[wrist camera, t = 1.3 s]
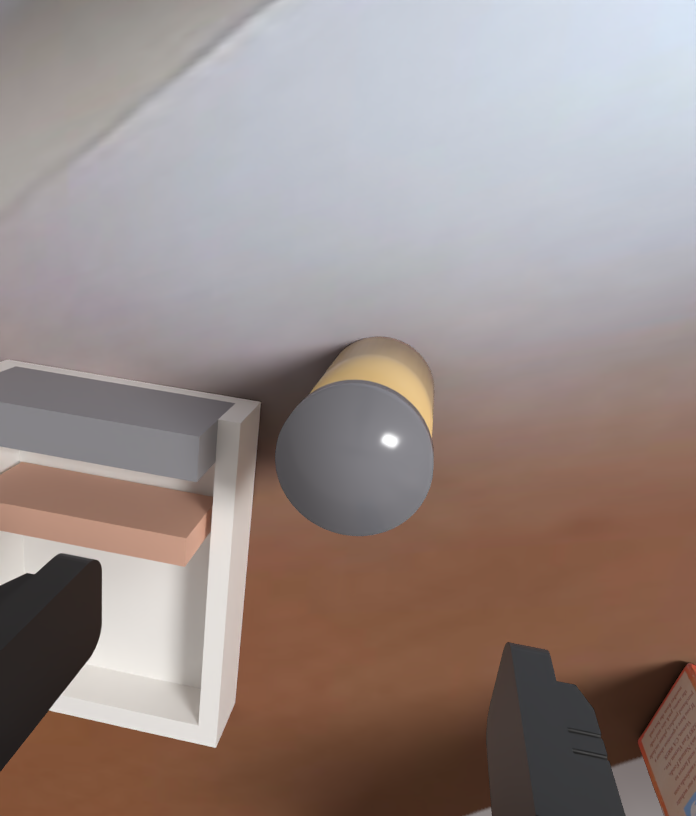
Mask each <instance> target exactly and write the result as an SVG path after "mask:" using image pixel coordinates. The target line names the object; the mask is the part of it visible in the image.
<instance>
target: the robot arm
mask: <svg viewBox="0 0 696 816" xmlns="http://www.w3.org/2000/svg"><path fill="white" fill-rule="evenodd" d="M101 628H102V567H101V564H100V562H99V561H98V560H95V559H90V558H85V557H80V556H75V555H70V554H65V553H59V554H57V555H56V556H55V557H53V558H52V559H51V560H50V561H49V562H48V563H47V564H46V565H44V566H43V567H42V568H41V569H40V570H39V571H38V572H37V573H36V574H30V573H26V574H24V575H21V576H19V577H17V578H15V579H13V580H11V581H9V582H7V583H4V584H2V585H0V771H1V770H2V769H3V768H4V766H5V765H6V764H7V763H8V761H9V760H10V759H11V758H12V756H13V755H14V754H15V752H16V751H17V750H18V749H19V747H20V746H21V745H22V744H23V742H24V741H25V740H26V738H27V737H28V736H29V735H30V733H31V732H32V731H33V730H34V728H35V727H36V726H37V725H38V723H39V722H40V721H41V719H42V718H43V717H44V716H45V714H46V713H47V712H48V711H49V709H50V708H51V707H52V706H53V704H54V703H55V702H56V700H57V699H58V698H59V697H60V695H61V694H62V693H63V692H64V690H65V689H66V688H67V687H68V685H69V684H70V683H71V681H72V680H73V679H74V678H75V676H76V675H77V674H78V673H79V671H80V670H81V669H82V667H83V666H84V665H85V664H86V662H87V661H88V660H89V659H90V657H91V656H92V654H93V652H94V650H95V648H96V646H97V644H98V641H99V637H100V634H101ZM486 745H487V758H488V771H489V784H490V797H491V810H492V816H625V813H624V810H623V806H622V803H621V800H620V796H619V793H618V789H617V786H616V783H615V779H614V776H613V772H612V769H611V766H610V762H609V761H607V752H606V749H605V746H604V742H603V739H601V732H600V729H599V725H598V722H597V719H596V715H595V712H594V709H593V708H592V706H591V705H590V704H589V702H588V701H587V700H586V698H585V697H584V696H583V694H582V693H581V692H580V690H579V689H578V688H577V686H576V685H573V684H568V683H563V682H558V681H556V678H555V674H554V669H553V665H552V661H551V657H550V653H549V651H548V650H545V649H540V648H535V647H529V646H524V645H519V644H514V643H509V642H507V643H506V645H505V647H504V650H503V654H502V658H501V662H500V666H499V670H498V674H497V678H496V682H495V686H494V690H493V694H492V699H491V703H490V707H489V712H488V719H487V731H486Z"/></svg>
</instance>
